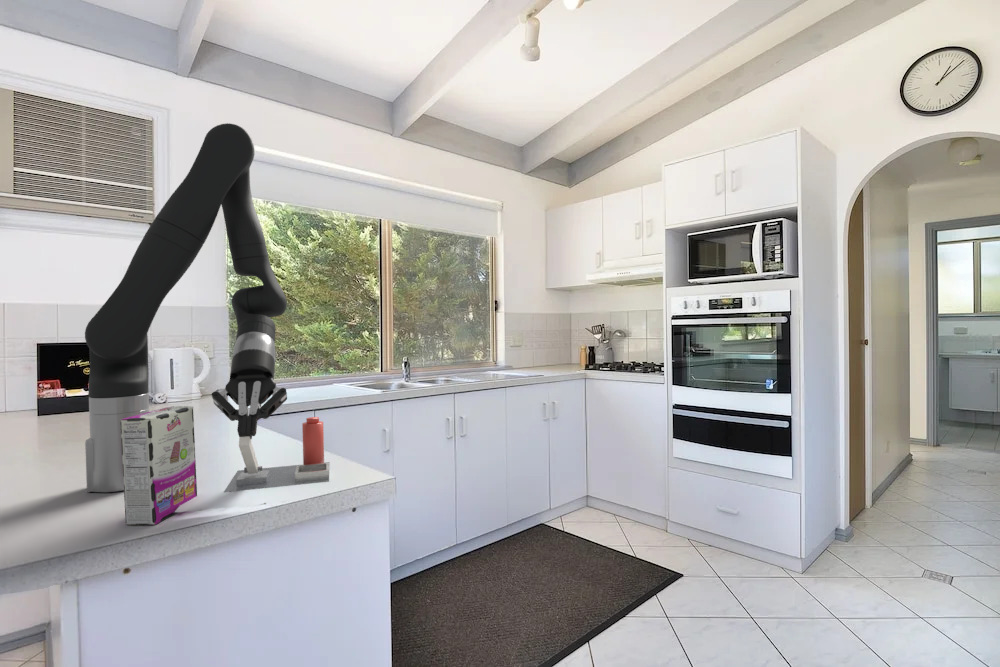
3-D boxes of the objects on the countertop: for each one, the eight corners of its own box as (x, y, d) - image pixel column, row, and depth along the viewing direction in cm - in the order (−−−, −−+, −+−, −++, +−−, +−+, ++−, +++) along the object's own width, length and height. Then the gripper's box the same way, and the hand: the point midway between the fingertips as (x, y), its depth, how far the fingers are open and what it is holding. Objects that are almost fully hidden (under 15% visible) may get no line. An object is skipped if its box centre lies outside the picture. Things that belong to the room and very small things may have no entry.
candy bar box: (169, 501, 91) (166, 406, 91) (198, 501, 91) (195, 405, 91) (121, 526, 80) (118, 417, 80) (154, 526, 80) (151, 417, 80)
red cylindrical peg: (302, 470, 105) (301, 420, 105) (303, 465, 109) (302, 417, 109) (324, 468, 107) (322, 418, 106) (324, 463, 110) (323, 415, 110)
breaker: (244, 475, 99) (234, 446, 89) (245, 467, 100) (234, 437, 90) (262, 473, 100) (253, 444, 90) (262, 465, 101) (254, 435, 91)
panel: (223, 497, 93) (223, 483, 93) (237, 475, 106) (237, 463, 106) (329, 486, 98) (328, 473, 98) (329, 466, 112) (329, 455, 112)
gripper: (212, 348, 98) (198, 427, 86) (289, 346, 102) (286, 421, 91) (218, 374, 103) (207, 452, 92) (291, 371, 107) (289, 445, 96)
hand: (246, 437), depth 91 cm, fingers closed
